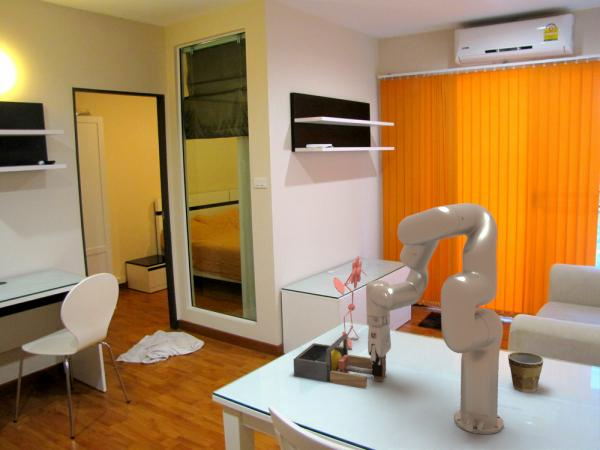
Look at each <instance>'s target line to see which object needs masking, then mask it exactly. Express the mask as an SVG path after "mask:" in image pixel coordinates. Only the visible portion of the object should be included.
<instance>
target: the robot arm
mask: <svg viewBox="0 0 600 450" xmlns="http://www.w3.org/2000/svg"><path fill="white" fill-rule="evenodd" d="M396 233H397V239H398V240H399V242H400V243H402V245H403V247H402V249H401V252H400V253H399V260H400V262H401V263H402V265H404V266H405V267H407V268H408V269H409V273H408V275H407V277H406V279H405V281H404V282H399V283H395V284H391V285H390V283H388V282H387V281H385V280H378V279H377V280H375V279H374V280H370V281H368V282H367V283H366V285H365V304H366V305H365V307H366V325H367V326H368V331H367V332H368V333H367V352H368V353H367V354H368V356H370V357H369V358H370V360H371V361H372V369H371V370H372V375H371V376H378V377H382V365H381V357H384V356H385V355H386V356H387V354H388V352H390V350H391V348H392V341H391V339H392V338H391V328H390V324H391V311H396V310H399V309H402V308H405V307H409V306H413V305H415V304H416V303H417V302H418V301H419V300H420V299H421V297H422V296H423V294H424V292H425V290H426V288H427V286H428V284H429V269H428V265H429V263H430V261H431V260H432V259H431V258H432V257H433V254H434V253H435V251H436V249H437V248H438V245H439V243H440V241H441V240H445V239H450V238H455V237H460V236H466V241H465V242H464V246H463V247H462V253H461V255H462V256H461V257H462V258H461V259H462V260H461V261H462V267H461V272H458V273H455V274H452V275H450V276H449V277H447V279H445V281H444V282H443V285H442V287H441V292H440V312H441V313H440V316H441V317H440V321H441V334H442V339H443V341H444V344H445V345H446V347H447V348H448V349H449V350H451V351H452V352H453V353H456V354H461V358H460V359H461V360H460V405H459V406H460V409H459V410H457V411H456V412H455V413H454V416H453V417H454V418H453V421H454V423H455V424H456V425H457V426H458V427H459V428H460V429H463V430H464V431H467V432H470V433H474V434H478V435H491V434H496V433H499V432H500V431H501V430H503V428H504V420H503V418H502V417H501V416H500V415H499V414H498V408H499V407H498V403H499V400H498V399H499V398H498V397H499V370H500V369H499V365H500V351H501V346H502V345H501V344H502V340H503V334H504V325H503V322H502V319H501V317H500V316H499V314H497V312H495V311H494V310H492V309H490V308H485V307H482V306H485V305H488V304H489V303H491V302H493V301H494V300H495V298H496V296H497V293H498V268H497V266H498V264H497V248H498V247H497V246H498V227H497V224H496V220H495V217H494V216H493V215H492V213H491V212H490V211H489V210H488V209H487V208H486V207H484V206H482V205H480V204H477V203H471V202H470V203H469V202H464V203H461V202H460V203H455V204H448V205H447V204H446V205H441V206H434V207H432V208H429V209H426V210H423V211H420V212H417V213H414V214H411V215H410V214H409V215H408V216H405V217H404V218H402V220H401V221H400V222H399V224H398V227H397V231H396ZM479 307H480V308H479ZM376 353H377V354H378V355H376ZM376 357H378V359H376Z"/></svg>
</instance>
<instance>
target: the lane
mask: <svg viewBox="0 0 600 450" xmlns="http://www.w3.org/2000/svg"><path fill="white" fill-rule="evenodd" d="M348 356H349V366H350V367H356V368H362V369H369V370H372V361H371V360H370V358H371V357H369V356H368V357H367V356H360V355H355V354H348ZM367 378H368V377H367V376H366V375H361V374H357V373H351V372H350V373H348V372H347V373H344V372H339V371H338V370H336V371H331V372H330V382H329V383H332V384H336V385H343V386H349V387H353V388H354V387H355V388H360V389H367V388H368V385H367V384H368V379H367Z"/></svg>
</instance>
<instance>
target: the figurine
mask: <svg viewBox="0 0 600 450" xmlns="http://www.w3.org/2000/svg"><path fill="white" fill-rule="evenodd" d="M362 264H363V263H362V260H360V256H359V255H357V256H356V258H355V260H353V262H352V264H351V265H352V266H351V267H352V270H351V273H350V275H349V276H348V277H347V279H346V281H345V283H343V282H342V281H341V279H340V278H337V277H336V276H335V277H333V285H334V288H335V289H336V290H337V291H338V293H340V294H341V295H345V287H346V288H347V289H348V290H349V291H350V292H351V303H350V304H348V307H347V308H348V310H349V311H348V312H346V314H345V315H344V316H343V327H344V331H343V332H342V335H343V334H347V337H348V348H349V349H350V350H352V348H353V347H352V345H353V344H352V340H351V339H350V336H349V335H350V333H351V331H352V332H354V334H355V335H356V337H357V339H360V337H359V336H358V334H357V333H356V331H355V330H354V325H353V319H352V318H353V317H352V311H354V310H355V309H356V305H355V304H354V292H353V290H352V289H351V288H350V287H349V286H348V284H351V285H353V288H354V289H355V290H356V288H357V287H358V283H360V282H361V280H362V276H361V274H362V273H363V274H364V276H368V275H367V274H366V273H365V271H363V269H362ZM349 314H350V322H351V323H350V324H351V325H350V329H349V330H348V332H346V320H345V317H347V315H349ZM342 335H341V336H342ZM341 344H342V342H341V343H340V344H339V345H338V346H337V347H341V346H340V345H341Z"/></svg>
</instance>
